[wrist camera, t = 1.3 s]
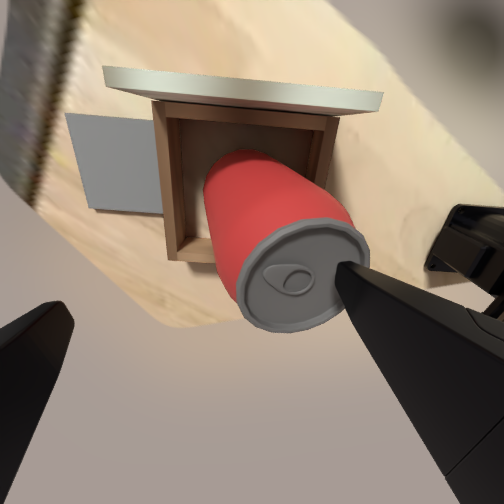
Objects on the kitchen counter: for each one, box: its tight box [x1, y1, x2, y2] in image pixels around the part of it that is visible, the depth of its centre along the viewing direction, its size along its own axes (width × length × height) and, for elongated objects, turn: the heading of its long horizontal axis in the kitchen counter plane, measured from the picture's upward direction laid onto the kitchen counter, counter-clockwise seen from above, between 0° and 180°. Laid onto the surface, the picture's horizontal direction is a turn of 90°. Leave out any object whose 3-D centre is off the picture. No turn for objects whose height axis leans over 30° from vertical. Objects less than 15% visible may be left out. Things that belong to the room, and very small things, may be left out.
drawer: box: [102, 66, 384, 263], centre depth 16 cm, size 12×12×8 cm
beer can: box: [203, 149, 370, 333], centre depth 14 cm, size 7×7×12 cm
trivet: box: [65, 113, 163, 214], centre depth 19 cm, size 6×7×1 cm
